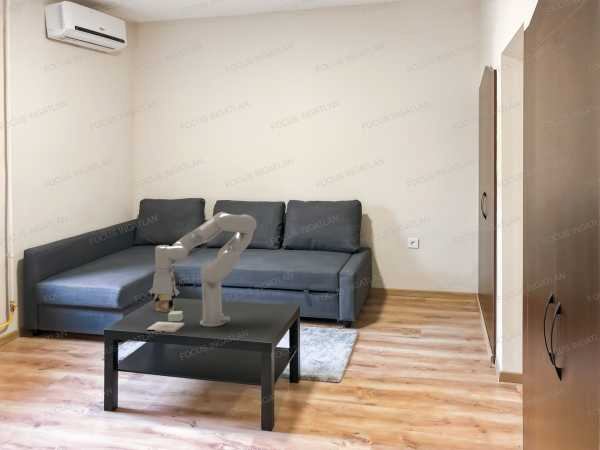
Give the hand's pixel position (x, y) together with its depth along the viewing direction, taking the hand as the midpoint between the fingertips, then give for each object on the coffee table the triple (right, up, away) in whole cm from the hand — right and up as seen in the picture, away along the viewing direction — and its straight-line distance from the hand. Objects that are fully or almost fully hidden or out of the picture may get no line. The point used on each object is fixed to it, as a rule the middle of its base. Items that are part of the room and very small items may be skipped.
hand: (164, 306), depth 274 cm
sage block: (+2, -9, +15) cm, 18 cm away
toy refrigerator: (-7, -7, +34) cm, 36 cm away
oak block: (0, -1, 0) cm, 1 cm away
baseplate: (0, -10, +1) cm, 10 cm away
